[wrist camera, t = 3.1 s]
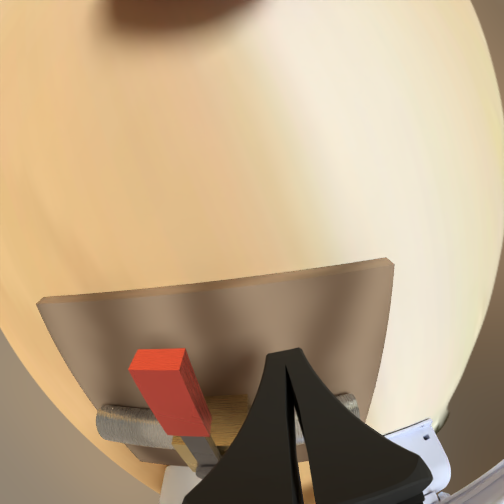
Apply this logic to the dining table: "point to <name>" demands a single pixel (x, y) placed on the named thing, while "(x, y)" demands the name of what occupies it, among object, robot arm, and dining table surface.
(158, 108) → the dining table surface
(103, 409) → the valve pipe
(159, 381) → the valve lever
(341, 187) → the dining table surface
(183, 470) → the can
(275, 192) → the dining table surface
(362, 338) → the base board
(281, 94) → the dining table surface
